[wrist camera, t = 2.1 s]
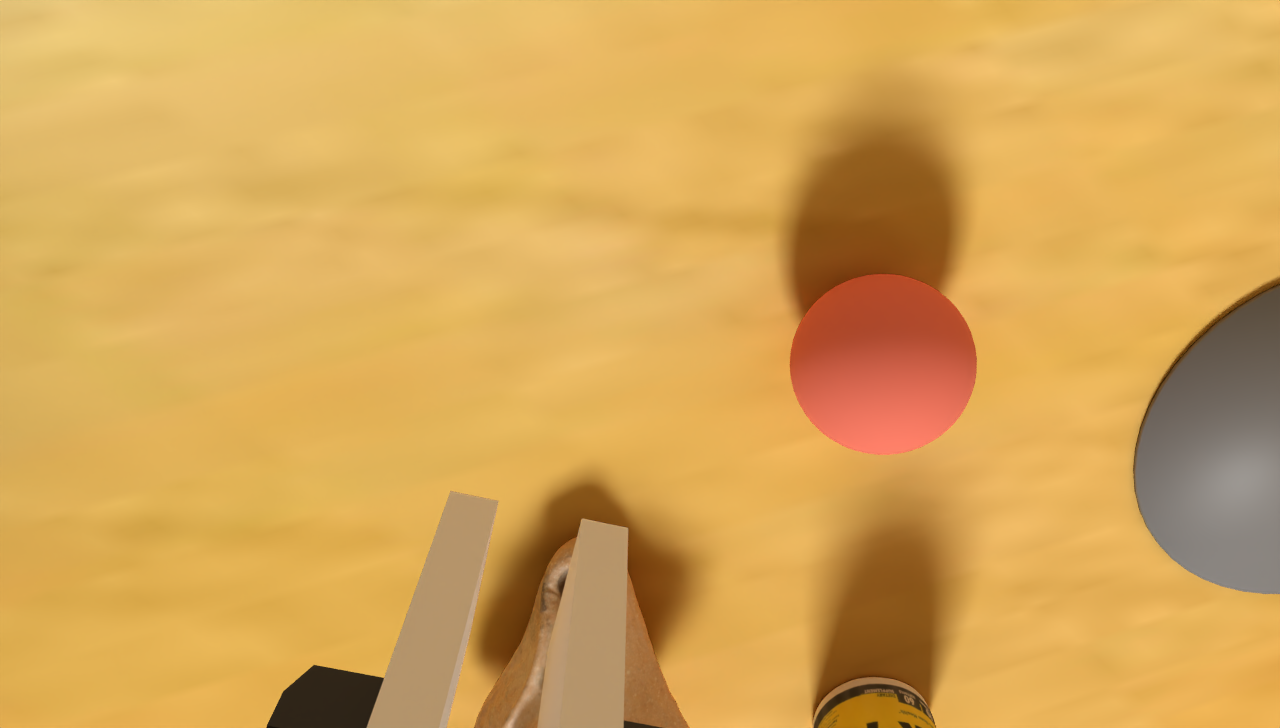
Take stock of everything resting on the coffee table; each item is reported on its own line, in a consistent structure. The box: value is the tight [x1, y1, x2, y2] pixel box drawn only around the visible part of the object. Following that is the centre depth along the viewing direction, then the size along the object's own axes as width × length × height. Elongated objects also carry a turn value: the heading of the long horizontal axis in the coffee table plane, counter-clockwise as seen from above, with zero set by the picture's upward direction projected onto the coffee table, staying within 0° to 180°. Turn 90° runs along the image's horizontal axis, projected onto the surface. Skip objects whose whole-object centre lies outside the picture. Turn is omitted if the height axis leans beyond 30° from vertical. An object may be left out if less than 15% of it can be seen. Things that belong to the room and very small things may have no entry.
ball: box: [790, 274, 977, 455], centre depth 28 cm, size 6×6×6 cm
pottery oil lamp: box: [474, 537, 689, 728], centre depth 33 cm, size 9×12×7 cm
